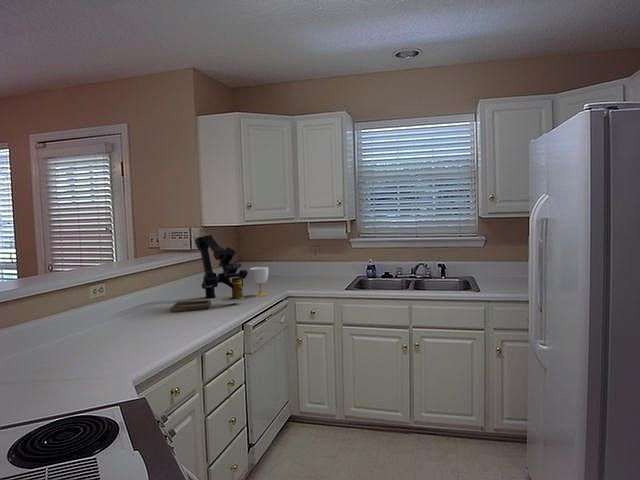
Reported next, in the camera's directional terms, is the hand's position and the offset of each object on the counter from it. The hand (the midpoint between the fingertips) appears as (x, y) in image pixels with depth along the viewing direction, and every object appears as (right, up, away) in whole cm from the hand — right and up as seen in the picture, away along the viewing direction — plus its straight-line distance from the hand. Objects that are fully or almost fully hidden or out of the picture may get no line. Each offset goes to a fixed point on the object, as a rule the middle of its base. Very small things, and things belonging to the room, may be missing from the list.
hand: (237, 287), depth 271 cm
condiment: (-1, -7, +1) cm, 7 cm away
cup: (+10, -8, +27) cm, 30 cm away
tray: (-26, -12, -3) cm, 29 cm away
